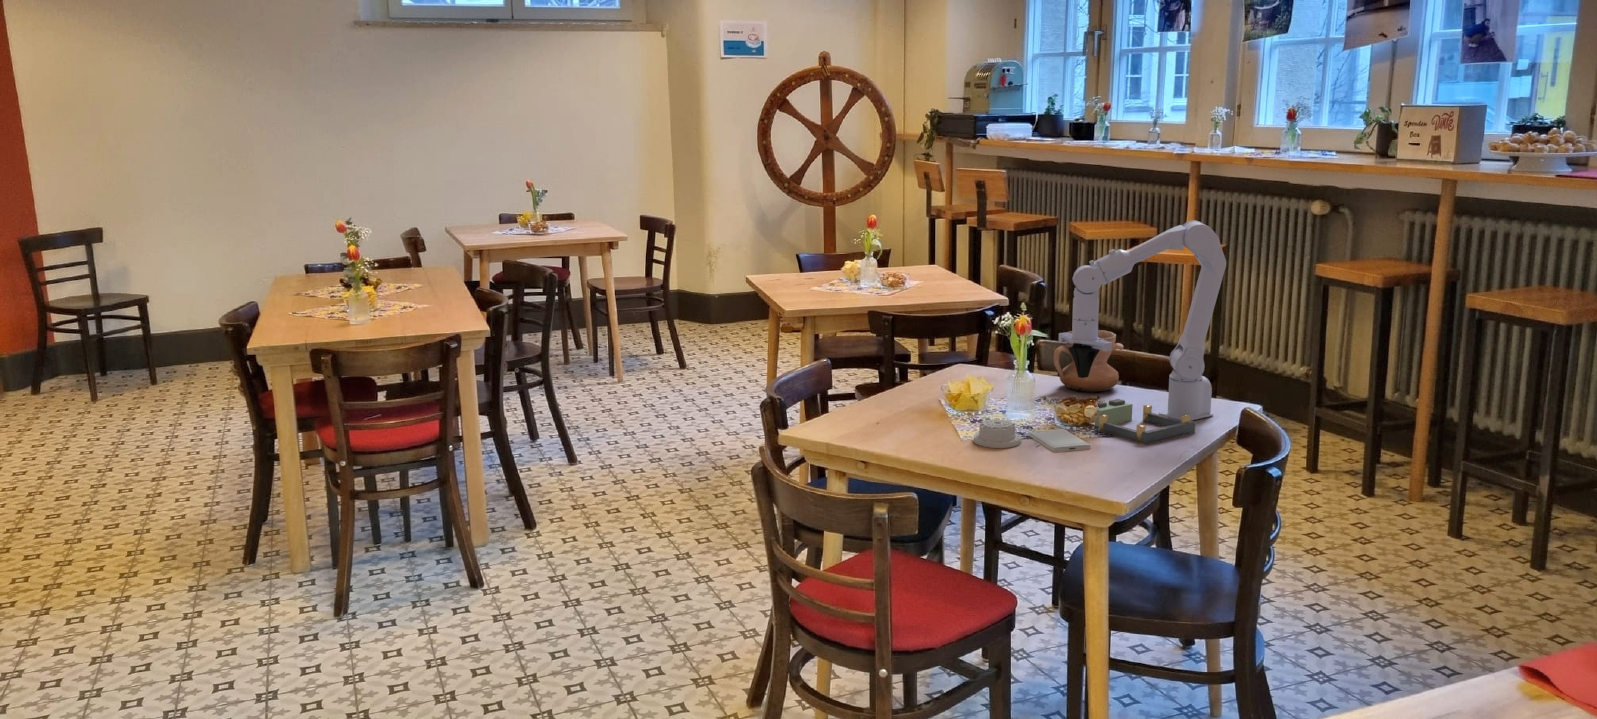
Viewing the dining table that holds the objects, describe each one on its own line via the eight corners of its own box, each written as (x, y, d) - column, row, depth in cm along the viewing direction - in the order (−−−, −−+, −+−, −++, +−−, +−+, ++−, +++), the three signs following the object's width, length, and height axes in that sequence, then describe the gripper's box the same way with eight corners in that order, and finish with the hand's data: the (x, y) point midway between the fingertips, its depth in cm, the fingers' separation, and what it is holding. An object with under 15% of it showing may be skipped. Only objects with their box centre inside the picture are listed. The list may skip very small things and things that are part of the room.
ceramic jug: (1110, 380, 300) (1112, 326, 297) (1132, 393, 286) (1134, 337, 283) (1042, 383, 298) (1044, 329, 295) (1061, 397, 284) (1063, 340, 281)
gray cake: (1030, 442, 247) (992, 433, 254) (1030, 422, 246) (992, 414, 253) (1002, 452, 240) (964, 443, 247) (1002, 431, 239) (964, 423, 246)
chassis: (1146, 419, 262) (1147, 404, 262) (1195, 432, 251) (1196, 417, 250) (1096, 430, 254) (1097, 415, 253) (1145, 444, 243) (1146, 428, 242)
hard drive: (1029, 431, 251) (1054, 446, 239) (1064, 428, 252) (1090, 443, 240) (1029, 438, 251) (1053, 454, 239) (1064, 435, 253) (1090, 451, 241)
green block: (1114, 416, 266) (1115, 396, 265) (1131, 421, 262) (1132, 400, 261) (1083, 423, 261) (1084, 402, 260) (1100, 428, 257) (1101, 407, 256)
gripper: (1049, 316, 267) (1047, 373, 270) (1096, 325, 255) (1094, 385, 258) (1071, 313, 271) (1069, 369, 274) (1119, 321, 259) (1116, 381, 262)
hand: (1083, 377), depth 266 cm, fingers closed
